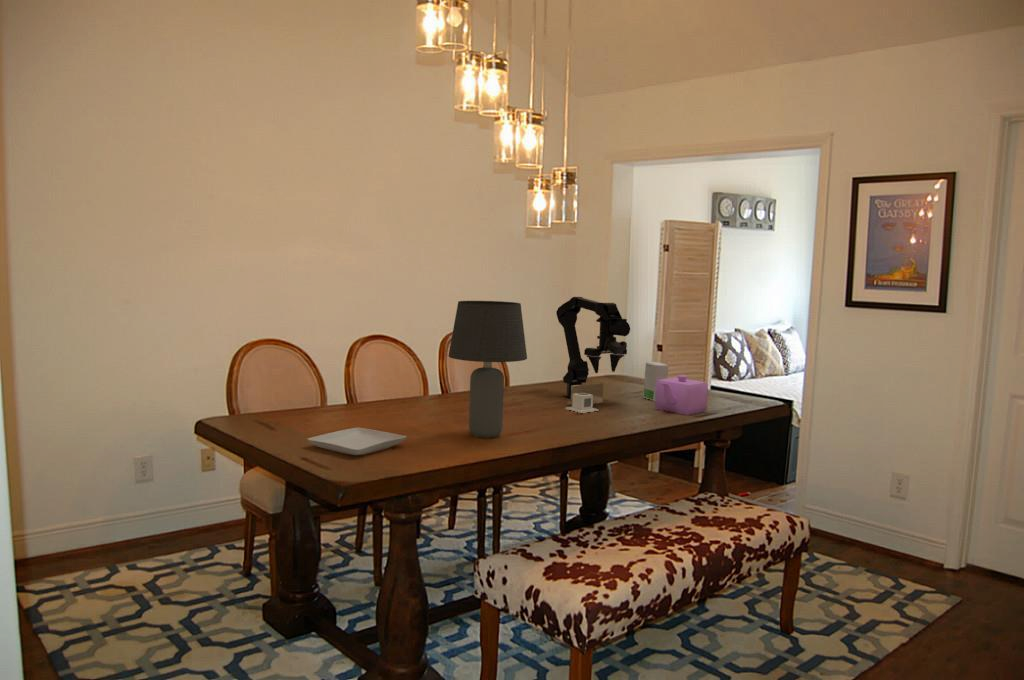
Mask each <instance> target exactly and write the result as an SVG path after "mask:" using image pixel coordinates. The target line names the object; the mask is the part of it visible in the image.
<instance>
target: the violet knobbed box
mask: <svg viewBox="0 0 1024 680" xmlns="http://www.w3.org/2000/svg"><path fill="white" fill-rule="evenodd" d="M708 388H709V383H708V382H706V381H700V380H694V379H688V376H687V375H684V374H678V375H677V377H668V378H667V379H661V380H657V381H656V398H655V401H654V409H655V408H657V409H656V410H658V409H661V410H660V411H663V410H666V411H665V412H668V411H670V412H669V413H673V412H675V413H674V414H678V413H680V414H679V415H683V414H685V415H684V416H691V415H690V414H692V415H695V414H694V413H697V414H700V413H699V412H702V413H704V412H703V411H706V412H707V403H708V391H709V390H708Z"/></svg>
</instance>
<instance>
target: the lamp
mask: <svg viewBox="0 0 1024 680" xmlns="http://www.w3.org/2000/svg"><path fill="white" fill-rule="evenodd" d="M455 311H456V312H455V318H454V323H453V329H452V335H451V339H450V346H449V351H448V357H449V358H450V359H454V360H459V361H467V362H477V363H478V362H479V363H483V366H482V367H478V368H475V369H474V370H472V372H471V373H470V377H469V378H470V379H469V380H470V381H469V408H468V409H469V412H468V415H469V416H468V419H469V420H468V430H469V433H470V434H471V435H472V436H474V437H476V438H479V437H480V438H481V439H493V437H494V438H497V437H499V436H500V435H501V433H502V431H503V426H504V424H503V421H504V396H505V395H504V394H505V393H504V391H505V390H504V389H505V375H504V373H503V372H502V371H501V370H500V369H499V368H497V367H493V363H510V362H511V363H514V362H520V361H521V362H522V361H526V360H528V355H527V345H526V339H525V328H524V319H523V312H522V305H521V303H520V302H517V301H516V302H515V301H514V302H513V301H503V300H502V301H501V300H500V301H498V300H459V301H458V303H457V307H456V310H455Z"/></svg>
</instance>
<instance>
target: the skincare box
mask: <svg viewBox="0 0 1024 680" xmlns="http://www.w3.org/2000/svg"><path fill="white" fill-rule="evenodd" d="M644 367H645V370H644V380H643V381H644V382H643V392H642V393H643V394H642V398H643V399H645V398H646V400H648V399H650V400H649V401H651V400H653V401H652V402H655V398H656V381H657V380H661V379H668V378H669V377H668V375H669V364H665V363H664V362H663V363H662V362H658V361H650V362H649V361H647V362H645V366H644Z"/></svg>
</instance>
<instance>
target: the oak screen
mask: <svg viewBox="0 0 1024 680" xmlns="http://www.w3.org/2000/svg"><path fill="white" fill-rule="evenodd" d="M576 393H586V394H591V395H593V404H595V403H596V404H602V403H603V398H604V397H603V396H604V383H603V382H596V383H595V382H593V383H582V385H572V386H571V398H570V401H568V402H567V406H571V405H572V400H573V394H576ZM601 402H602V403H601Z"/></svg>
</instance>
